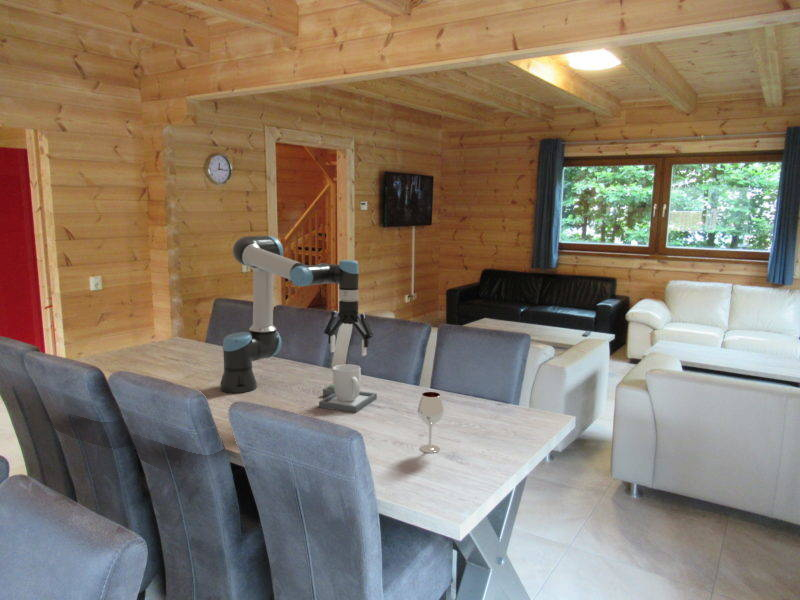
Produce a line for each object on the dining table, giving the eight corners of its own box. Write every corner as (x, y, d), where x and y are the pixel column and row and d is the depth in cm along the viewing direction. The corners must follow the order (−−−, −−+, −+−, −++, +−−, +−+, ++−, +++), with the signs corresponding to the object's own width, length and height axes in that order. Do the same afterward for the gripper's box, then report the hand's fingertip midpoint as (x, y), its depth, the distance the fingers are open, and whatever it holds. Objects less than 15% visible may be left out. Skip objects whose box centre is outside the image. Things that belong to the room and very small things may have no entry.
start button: (327, 391, 241) (327, 385, 240) (332, 388, 244) (332, 383, 244) (336, 392, 239) (336, 387, 239) (341, 389, 243) (341, 384, 242)
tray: (319, 407, 226) (318, 401, 226) (341, 393, 243) (341, 388, 243) (356, 412, 220) (356, 407, 220) (376, 398, 238) (376, 393, 237)
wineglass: (415, 444, 190) (416, 390, 187) (440, 444, 190) (441, 390, 188) (418, 454, 182) (419, 398, 179) (444, 453, 182) (446, 398, 180)
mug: (370, 403, 228) (370, 371, 226) (345, 408, 222) (345, 374, 220) (352, 393, 240) (352, 362, 238) (328, 397, 234) (328, 366, 232)
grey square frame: (322, 396, 240) (322, 389, 240) (331, 391, 246) (331, 384, 246) (338, 398, 237) (338, 391, 237) (345, 393, 244) (345, 386, 243)
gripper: (315, 299, 227) (315, 352, 230) (374, 303, 218) (373, 359, 221) (325, 296, 234) (324, 348, 237) (382, 301, 225) (381, 354, 228)
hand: (348, 353), depth 229 cm, fingers open, 13 cm apart
